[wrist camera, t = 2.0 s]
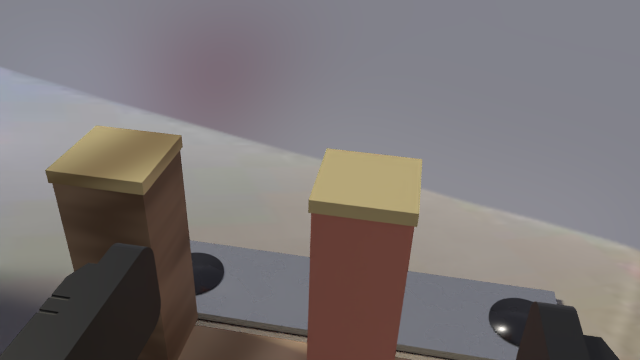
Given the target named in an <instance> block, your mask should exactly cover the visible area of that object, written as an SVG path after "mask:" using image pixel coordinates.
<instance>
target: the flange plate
mask: <svg viewBox="0 0 640 360" xmlns="http://www.w3.org/2000/svg"><path fill="white" fill-rule="evenodd" d="M190 248H191V258H192V267H193V276H194V286H195V295H196V304H197V314H198V319H203V320H210V321H216V322H222V323H228V324H235V325H241V326H247V327H254V328H260V329H266V330H272V331H279V332H285V333H291V334H298V335H304V336H308V305H309V273H310V257H304V256H297V255H290V254H283V253H276V252H269V251H262V250H254V249H247V248H240V247H233V246H226V245H219V244H212V243H205V242H198V241H191V240H190ZM535 301H536V302H543V303H551V304H557V302H556V298H555V294H554V292H553V291H546V290H539V289H532V288H524V287H517V286H510V285H503V284H496V283H489V282H482V281H475V280H468V279H461V278H453V277H446V276H439V275H432V274H425V273H418V272H411V271H408V273H407V279H406V286H405V293H404V300H403V306H402V313H401V320H400V327H399V333H398V340H397V347H396V350H398V351H405V352H411V353H417V354H423V355H430V356H436V357H442V358H449V359H455V360H516V357H517V353H518V349H519V346H520V342H521V339H522V335H523V332H524V328H525V325H526V321H527V318H528V314H529V311H530V308H531V305H532V303H533V302H535Z"/></svg>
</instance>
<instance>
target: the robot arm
mask: <svg viewBox="0 0 640 360" xmlns="http://www.w3.org/2000/svg"><path fill="white" fill-rule="evenodd" d="M160 310H161V297H160V290H159V284H158V277H157V271H156V264H155V258H154V253H153V250H152V249H151V248H150V247H144V246H137V245H130V244H122V243H115V244H113V245H112V246H111V247H110V248H109V250H108V251H107V252H106V253H105V255H104V256H103V257H102V258H101V260H100V261H99V262H98V263H97V264H94V263H87V264H86V265H84V266H83V267H81V268H79V269H78V270H76V271H75V272H73V273H72V274H70V275H69V276H67V277H66V278H65V279H64V281H63V282H62V283H61V284H60V285H59V286H58V288H57V289H56V290H55V291H54V292H53V294H52V297H51V298H48V300H47V301H46V302H45V303H44V304H43V305H42V307H41V308H40V311H39V313H36V314H35V315H34V316H33V317H32V319H31V320H30V321H29V322H28V323H27V325H26V326H25V327H24V328H23V329H22V330H21V332H20V333H19V334H18V335H17V336H16V338H15V339H14V340H13V341H12V342H11V344H10V345H9V346H8V347H7V348H6V349H5V351H4V352H3V353H2V354H1V355H0V360H137V359H138V357H139V355H140V353H141V352H142V350H143V348H144V346H145V345H146V343H147V341H148V339H149V338H150V336H151V334H152V333H153V331H154V329H155V327H156V325H157V322H158V319H159V315H160ZM516 360H619V359H618V357H617V356H616V355H615V354H614V352H613V351H612V350H611V349H610V348H609V346H608V345H607V344H606V343H605V342H604V340H603V339H602V338H601V337H594V336H587V335H583V332H582V328H581V325H580V321H579V318H578V314H577V311H576V309H575V308H574V307H572V306H565V305H558V304H551V303H543V302H536V301H535V302H533V303H532V305H531V308H530V311H529V314H528V318H527V321H526V325H525V328H524V332H523V335H522V339H521V342H520V346H519V349H518V353H517V357H516Z"/></svg>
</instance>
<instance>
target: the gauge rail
mask: <svg viewBox="0 0 640 360" xmlns="http://www.w3.org/2000/svg"><path fill="white" fill-rule="evenodd" d="M182 147H183V146H182V137H181V135H173V134H164V133H156V132H147V131H139V130H130V129H121V128H113V127H104V126H95V127H94V128H93V129H92V130H91V131H90V132H89V133H87V134H86V135H85V136H84V137H83V138H82V139H81V140H79V141H78V142H77V143H76V144H75V145H74V146H73V147H71V148H70V149H69V150H68V151H67V152H66V153H65V154H63V155H62V156H61V157H60V158H59V159H58V160H57V161H55V162H54V163H53V164H52V165H51V166H50V167H49V168H47V169H46V170H45V171H46V175H47V179H48V183H53V188H54V192H55V196H56V200H57V204H58V208H59V212H60V216H61V220H62V224H63V228H64V232H65V236H66V240H67V244H68V248H69V252H70V256H71V260H72V264H73V268H74V272H75V271H76V270H78V269H79V268H81V267H83V266H84V265H86V264H87V263H94V264H97V263H98V262H99V261H100V260H101V258H102V257H103V256H104V255H105V253H106V252H107V251H108V250H109V248H110V247H111V246H112V245H113V244H115V243H122V244H130V245H137V246H144V247H150V248H151V249H152V250H153V253H154V258H155V264H156V271H157V277H158V284H159V290H160V297H161V310H160V315H159V319H158V322H157V325H156V327H155V329H154V331H153V333H152V334H151V336H150V338H149V339H148V341H147V343H146V345H145V346H144V348H143V350H142V352H141V353H140V355H139V357H138V359H137V360H307V343H304V342H298V341H292V340H286V339H280V338H273V337H267V336H261V335H255V334H248V333H242V332H236V331H230V330H224V329H217V328H211V327H205V326H199V325H195V324H196V322H197V320H198V314H197V304H196V295H195V286H194V276H193V267H192V258H191V248H190V239H189V230H188V220H187V211H186V202H185V192H184V183H183V174H182V164H181V155H180V150H181V148H182ZM395 360H410V359H404V358H398V357H395Z"/></svg>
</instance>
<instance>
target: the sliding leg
mask: <svg viewBox="0 0 640 360" xmlns="http://www.w3.org/2000/svg"><path fill="white" fill-rule="evenodd" d="M421 170H422V159H414V158H406V157H397V156H388V155H379V154H371V153H362V152H354V151H344V150H336V149H327V150H326V152H325V155H324V158H323V161H322V164H321V167H320V169H319V172H318V175H317V178H316V181H315V184H314V186H313V189H312V192H311V195H310V198H309V210H308V213H311V241H310V273H309V305H308V336H307V360H395V354H396V347H397V340H398V333H399V327H400V320H401V313H402V306H403V300H404V293H405V286H406V279H407V273H408V266H409V259H410V252H411V245H412V239H413V232H414V227H417V224H418V217H419V206H420V188H421Z"/></svg>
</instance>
